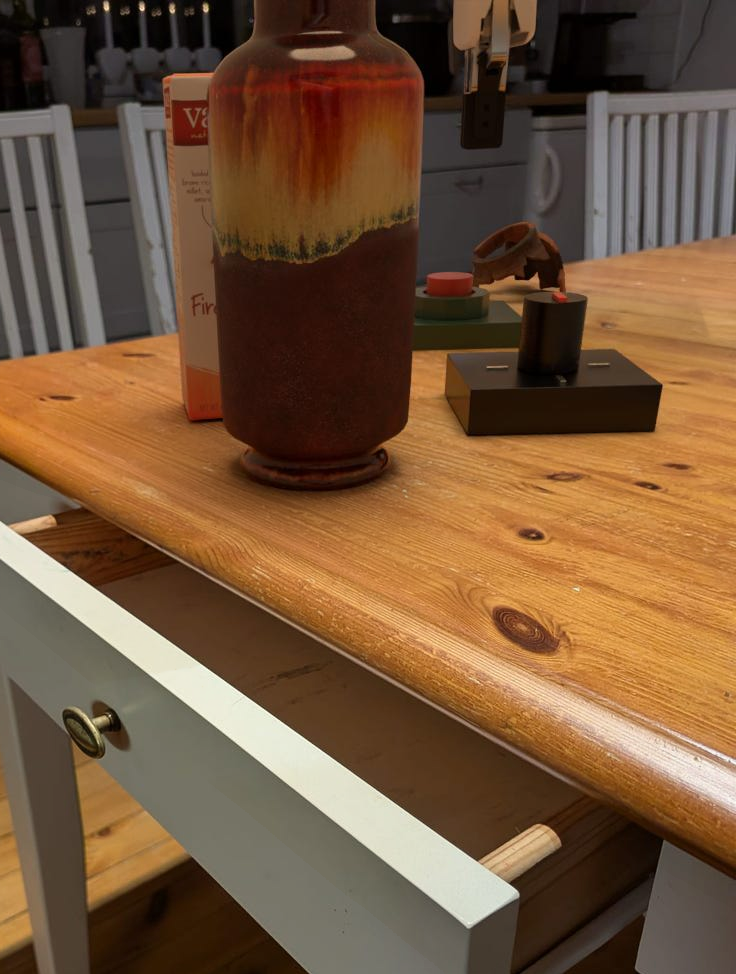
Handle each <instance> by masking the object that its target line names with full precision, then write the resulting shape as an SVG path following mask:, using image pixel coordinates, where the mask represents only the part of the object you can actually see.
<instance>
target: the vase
mask: <svg viewBox="0 0 736 974" xmlns="http://www.w3.org/2000/svg"><path fill="white" fill-rule="evenodd" d="M376 20H377V19H376V0H253V28H252V30H253V31H252V35H251V36H250V37H249V39H248V40H247V41H245V42H244V43H242V44H241V45H239V46H238V47H236V48H235V49H233V50H232V51H231V52H229V53H228V54H227V55H225V57H224V58H223V59H222V60H221V61H220V63H219V64H218V66H217V67H216V68H215V70H214V72H212V73H213V75H212V77H211V79H210V80H209V83H208V86H207V94H206V100H207V134H208V157H209V177H210V198H211V218H212V239H213V259H214V279H215V297H216V316H217V335H218V353H219V372H220V390H221V402H222V414H223V418H222V424H223V427H224V428H225V430H226V432H227V433H228V434H229V435H230V436H231V437H233V438H234V439H236V440H237V441H239V442H241V443H243V444H245V445H248V446H247V447H246V448H245V450H244V451H242V454H241V457H240V469H241V471H242V472H243V474H244V475H245V476H247V478H249V479H251V480H253V481H254V482H257V483H260V484H263V485H267V486H270V487H274V488H279V489H280V488H281V489H287V490H299V491H328V490H330V491H331V490H338V489H346V488H351V487H356V486H360V485H364V484H366V483H370V482H372V481H375V480H377V479H379V478H380V477H382V476H384V475H385V474H386V473H387V472H388V470H389V468H390V466H391V456H390V452H389V451H388V450H387V448H386V447H385V446H384V443H385V442H388V441H389V440H392V439H393V438H395V437H396V436H398V435H399V434H401V432H402V431H404V430H405V428H406V426H407V424H408V422H409V414H410V413H409V412H410V401H411V400H410V398H411V389H412V372H413V371H412V370H413V353H414V351H413V334H414V315H415V295H416V288H417V274H418V254H419V253H418V252H419V251H418V250H419V231H420V214H421V213H420V211H421V189H422V167H423V150H424V149H423V147H424V146H423V145H424V126H425V125H424V124H425V123H424V122H425V119H424V118H425V79H424V76H423V74H422V70H420V68H419V66H418V64H417V63H416V61H415V60H414V58H413V57H412V56H411V55H410V54H409V53H408V51H407V50H405V48H403V47H401V46H400V45H398V43H396V42H394V41H392V40H390V39H389V38H387V37H385V36H383V35H382V34H381V33H380V32H379V30H378V27H377V21H376Z"/></svg>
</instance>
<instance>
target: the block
mask: <svg viewBox="0 0 736 974" xmlns="http://www.w3.org/2000/svg"><path fill="white" fill-rule="evenodd" d="M426 289H427V286H419V287H416V295H415V315H414V334H413V352H417V351H418V352H419V351H450V350H456V351H457V350H484V349H485V350H490V349H493V350H494V349H519V343H520V333H521V323H522V315H520V314H519V313H518V312H517V311H515V309H514V308H513V307H511V306H510V305H509V304H508V303H507V302H506V301H505V300H490V296H491V293H490V291H489V290H488V289H487V288H483V287H480V286H479V287H474V286H472V294H471V295H464V296H432V295H427V294H426Z"/></svg>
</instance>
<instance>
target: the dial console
mask: <svg viewBox="0 0 736 974" xmlns="http://www.w3.org/2000/svg"><path fill="white" fill-rule="evenodd" d="M518 353H519V350H518V351H483V352H481V351H480V352H448V353H447V354H446V365H445V379H444V395H445V397H446V399H447V401H448V403H449V404H450V406H451V408H452V410H453V412H454V413H455V415H456V417H457V419H458V421H459V422H460V425H461V426H462V428H463V430H464V431H465V433H466V435H467V436H493V435H494V436H497V435H501V436H502V435H537V434H538V435H539V434H540V435H541V434H543V435H544V434H579V433H621V432H653V431H655V430H656V427H657V420H658V415H659V410H660V404H661V398H662V392H663V387H664V385H663V383H661V382H660V381H659V380H657V379H656V378H655V377H653V376H652V375H651V374H649V373H648V372H647V371H645V370H644V369H643V368H641V367H640V366H638V365H637V364H636V363H635V362H633V361H631V360H630V359H629V358H628V357H626V356H625V355H623V354H622V353H621V352H619V351H618V350H617V349H615V348H594V349H592V348H591V349H581V355H580V362H579V368H578V369H577V370H576V371H573V372H569V373H563V374H540V373H532V372H527V371H524V370H521V369H519V368H518V366H517V363H518Z"/></svg>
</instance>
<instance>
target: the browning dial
mask: <svg viewBox="0 0 736 974" xmlns="http://www.w3.org/2000/svg"><path fill="white" fill-rule="evenodd" d="M588 301H589V297H588V296H586V295H584V294H581V293H576V292H569V291H568V292H567V291H566V292H560V291H543V292H541V291H540V292H533V293H529V294H526V295H524V297H523V304H522V313H521V314H522V315H521V317H522V323H521V333H520V343H519V348H518V351H519V353H518V363H517V366H518V368H519V369H521V370H524V371H527V372H532V373H540V374H563V373H569V372H573V371H576V370H577V369H578V368H579V362H580V355H581V350H582V347H583V346H582V345H583V338H584V331H585V325H586V316H587V308H588Z"/></svg>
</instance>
